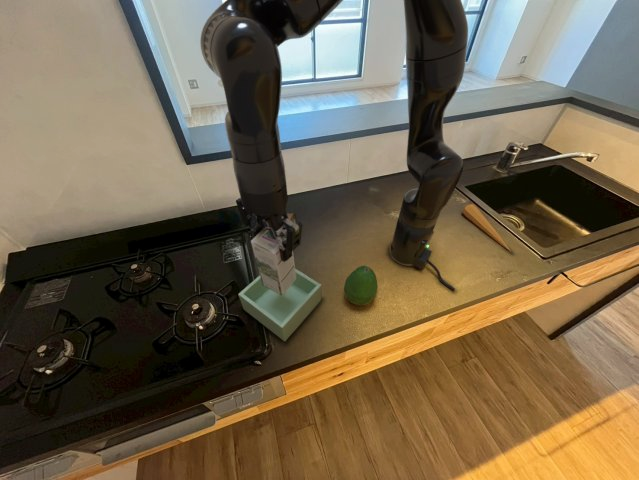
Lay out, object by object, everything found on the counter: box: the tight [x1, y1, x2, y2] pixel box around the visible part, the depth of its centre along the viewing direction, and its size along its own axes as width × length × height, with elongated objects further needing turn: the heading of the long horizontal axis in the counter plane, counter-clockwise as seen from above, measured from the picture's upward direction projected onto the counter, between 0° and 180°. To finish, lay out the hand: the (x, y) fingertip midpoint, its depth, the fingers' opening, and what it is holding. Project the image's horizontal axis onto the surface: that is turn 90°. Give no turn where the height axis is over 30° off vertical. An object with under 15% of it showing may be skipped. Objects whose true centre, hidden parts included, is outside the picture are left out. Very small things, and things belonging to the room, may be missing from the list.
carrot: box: [462, 203, 512, 253], centre depth 87 cm, size 20×4×4 cm, turn 21°
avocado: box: [343, 265, 379, 306], centre depth 66 cm, size 8×8×12 cm
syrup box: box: [250, 228, 296, 296], centre depth 58 cm, size 6×6×14 cm
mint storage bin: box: [238, 268, 322, 342], centre depth 67 cm, size 14×14×7 cm
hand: (274, 250), depth 55 cm, fingers closed on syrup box, 6 cm apart
